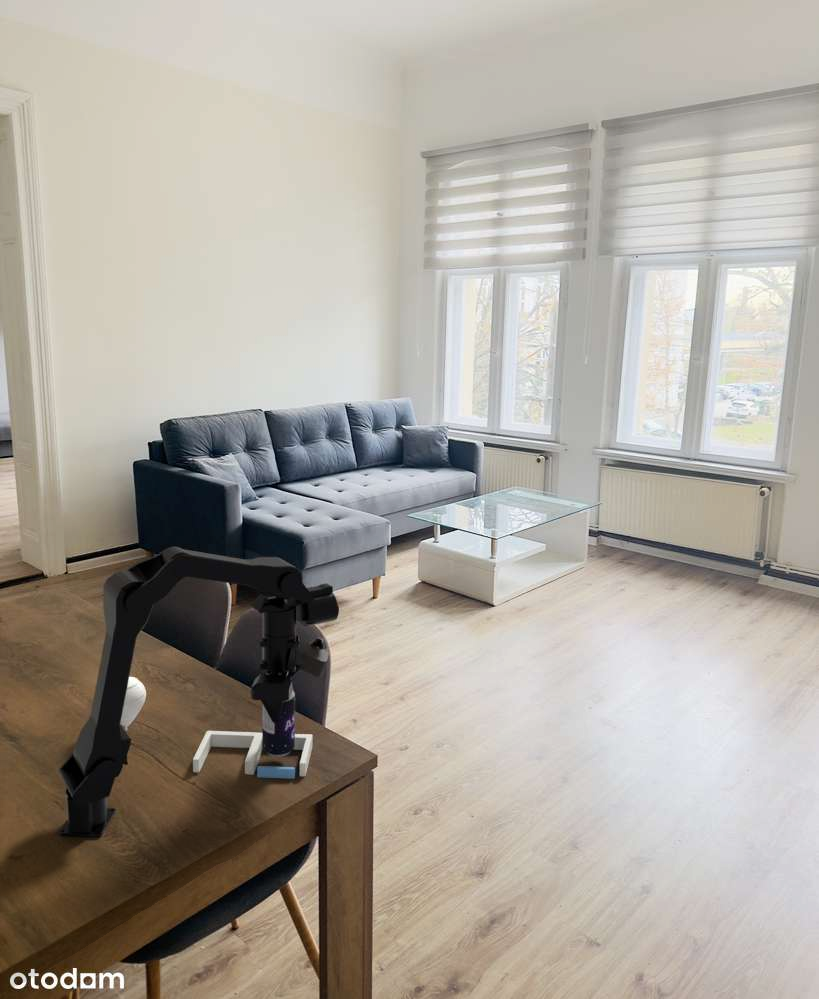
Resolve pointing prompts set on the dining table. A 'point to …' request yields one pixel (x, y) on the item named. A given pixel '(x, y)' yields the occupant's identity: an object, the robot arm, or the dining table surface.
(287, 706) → the beverage can
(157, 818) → the dining table surface
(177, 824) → the dining table surface
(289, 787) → the dining table surface
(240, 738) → the white open frame
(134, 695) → the spinning top
